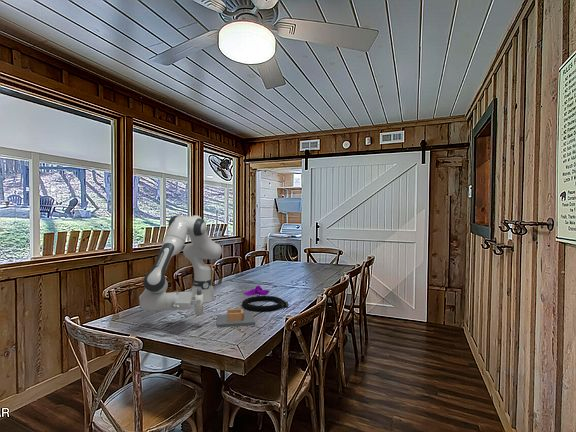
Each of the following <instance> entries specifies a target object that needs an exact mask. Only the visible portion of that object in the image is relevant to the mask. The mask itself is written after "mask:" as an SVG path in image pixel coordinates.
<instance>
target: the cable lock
mask: <svg viewBox="0 0 576 432" xmlns="http://www.w3.org/2000/svg"><path fill="white" fill-rule="evenodd" d="M255 302H273V303H275V304H272V305H255V304H251V303H255ZM248 303H249V304H248ZM241 305H242V308H244V309H245V310H247V311H252V312H259V313H261V312H263V313H265V312H273V311H275V312H276V311H278V310H280V309H281V310H282V309H288V308H289V302H288V301H286V300H284V299H283V298H281V297H279V296H272V295H261V296H249V297H247V298H245V299H244V300H242V303H241Z"/></svg>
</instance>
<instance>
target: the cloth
mask: <svg viewBox="0 0 576 432" xmlns="http://www.w3.org/2000/svg"><path fill="white" fill-rule="evenodd" d="M266 292H268V293H266ZM269 293H270V289H269V290H268V289H263V287H261V286H260V285H256V286H255V288H252V289H250V290H248V291H245V292H243V293H242V294H243V295H246V296H248V297H252V296H254V295H256V296H260V295H261V296H268V295H267V294H269ZM258 294H259V295H258ZM251 295H252V296H251Z"/></svg>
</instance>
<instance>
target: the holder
mask: <svg viewBox="0 0 576 432" xmlns="http://www.w3.org/2000/svg"><path fill="white" fill-rule="evenodd" d="M255 325H256V321H255V318H254V315H253V313H252V312H245V313H244V310H243V308H230V309H229V308H228V309H227V313H226V314H216V328H229V327H230V328H231V327H244V326H255Z"/></svg>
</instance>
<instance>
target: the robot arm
mask: <svg viewBox="0 0 576 432" xmlns="http://www.w3.org/2000/svg"><path fill="white" fill-rule="evenodd" d="M187 236H189V240H190V242H191V243H186V239H187ZM185 243H186V244H185ZM182 249H183V251H182ZM181 251H182V252H183V255H184V257H185V258H186V259H187V260H188V261H189V262H190V263H191V265H192V268H193V281H192V286H191V287H190V288H189V290H187V291H178V290H174V291H173V292H167V289H168V286H169V284H168V280H167V279H166V270H167V268H168V267H169V266H168V265H169V264H170V261H171V259H172V257H174V256H176V255H178V254H179V253H181ZM222 253H223V248H222V246H221V245H220V244H219V243H217V242H215V241H214V240H213V239H211V238H210V237H209V235H208V231H207V224H206V221H205V220H204V219H202V217H201V216H200V215H196V214H195V215H190V216H189V215H188V216H186V215H173V216H171V217H170V218H169V220H168V229H167V230H166V233H165V234H164V237H163V240H162V243H161V247H160V251H159V253H158V255H157V257H156V259H155V261H154V264H153V266H152V268H151V269H150V270H149V271H148V272H147V273H146V274H145V275H144V277H143V280H142V285H143V287H144V290H143V291H142V293H141V294H140V295H139V296H138V305H139V308H140V310H142V311H145V312H158V311H176V310H178V311H179V310H190V309H191V307H192V306H193V305H194V306H195V304H199V303H201V300H200V299H197V300H195V295H196V294H197V289H198V288H201V289H202V294H203V304H205V303H210V302H213V301H214V300H215V299H217V297H216V295H215V290H214V286H213V285H212V284H213V283H212V281H213V280H212V268H211V266H209V264H207V263H205V262H204V260H215V259H216V260H217V259H220V257H221V255H222Z"/></svg>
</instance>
